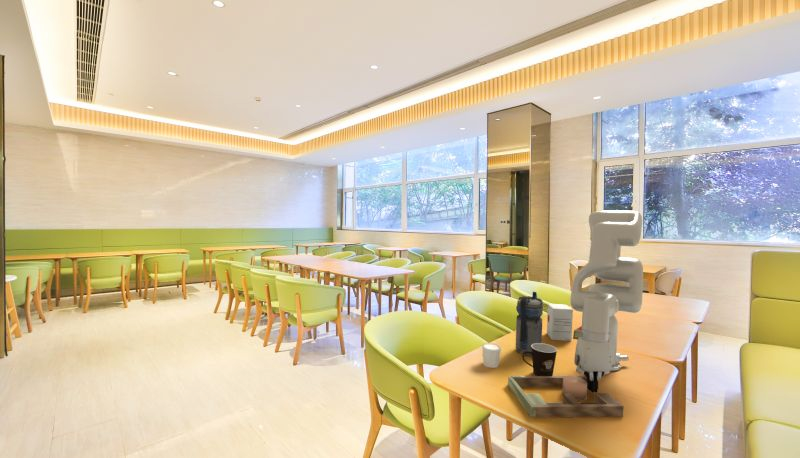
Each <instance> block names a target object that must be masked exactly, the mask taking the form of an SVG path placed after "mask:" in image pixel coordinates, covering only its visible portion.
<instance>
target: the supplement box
mask: <svg viewBox="0 0 800 458" xmlns="http://www.w3.org/2000/svg"><path fill="white" fill-rule="evenodd" d="M573 313H574V309H573V308H572V307H571V306H569V305H567V304H562V303H559V304H558V303H547V317H546V319H547V320H546V322H547V323H546V334H547V335H548V337H549V338H550V339H551V340H552V341H566V342H567V341H568V342H572V340H573V339H572V338H573V337H572V336H573V317H574V314H573Z"/></svg>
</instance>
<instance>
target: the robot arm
mask: <svg viewBox="0 0 800 458" xmlns="http://www.w3.org/2000/svg"><path fill="white" fill-rule="evenodd" d="M588 225H589V228H590V232H591V238H590V249H589V257H588V258H589V259H588V261H587V263H586V264H585V265H583V266H582V267H581V268H580V269H578V271H577V273H576V274H575V275H574V277H573V280H572V284H571V291H570V307H571V309H572V310H573V311H577V312H581V313H582V315H581V316H582V318H581V326H582V334H581V337H579V338H578V339H577V342H576V345H575V351H574V362H573V363H574V365H575V366H576V371H575V372H577V373H578V374H579V375H583V376H586V377H587V391H589V392H591V393H592V394H595V393H599V392H598V389H599V381H601V379H602V377H603V376H604V375H607V374H610V373H611V372H612V371H614V372H615V371H620V370H621V368H622V367H621V366H622V365H621V363H620V362H621V361H629V356H628V355H623V354H622V355H621V353H618V352H617V350H618V347H617V346H618V331H619V330H618V326H619V321H618V319H617V317H616V316H615V315H616V314H617V313H618V312H623V313H624V312H625V313H632V314H637V313H639V312H640V311H641V309H642V307H643V306H642V305H643V289H644V287H643V286H644V266H643V264H642V261H641V260H640V259H638V258H634V257H626V256H625V257H624V256H623V257H622V256H621V249H622V248H621V247H636V246H638V244H639V243H640V240H641V235H642V227H643V217H642V214H641V213H640V212H639V211H635V210H598V211H593V212H591V213H590V214H589V216H588ZM592 275H595V277H596V278H597V279H600V280H603V281H609V282H610V281H611V282H617V283H618V282H619V283H625V284H627V285H628V286H626V285H619V284H618V285H617V284H612V283H601V282H599V283H593V284H591V285H590V286H589V288H588V290H584V289H582V285H583V282H584V281H585V280H586V279H587V278H589V277H590V276H592Z"/></svg>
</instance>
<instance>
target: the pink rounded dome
mask: <svg viewBox="0 0 800 458" xmlns="http://www.w3.org/2000/svg"><path fill="white" fill-rule="evenodd" d="M563 376H564V377H563V386H562V394H563V393H570V394H571V395H572V396H573V397H574V398H575V399H576V400H577V401H585V400H586V399H587V398H588V395H587V394H588V389H587V382H586V381H585V380H584V379H582V378H579V377H576V376H577V375H563Z"/></svg>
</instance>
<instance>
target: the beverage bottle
mask: <svg viewBox="0 0 800 458" xmlns="http://www.w3.org/2000/svg"><path fill="white" fill-rule="evenodd" d="M516 302H517V303H516V309H515V310H516V312H517V313H518V314H517V315H516V322H515V323H516V325H515V350H516V351H517V352H518V353H519V354H522V355H523V353H524V352H526V351H529V352H532V350H531V345H532V344H535V343H542V341H543V340H542V338H543V318H542V315H543V311H544V304H543V303H544V301H543V299H542V298H539V297H538V294H537V291H532V296H531V295H529V296H525V295H524V296H519V297H518V300H517V301H516ZM524 356H528V357H529V356H530V357H532V355H531V354H530V353H526V354H525V355H524Z"/></svg>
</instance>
